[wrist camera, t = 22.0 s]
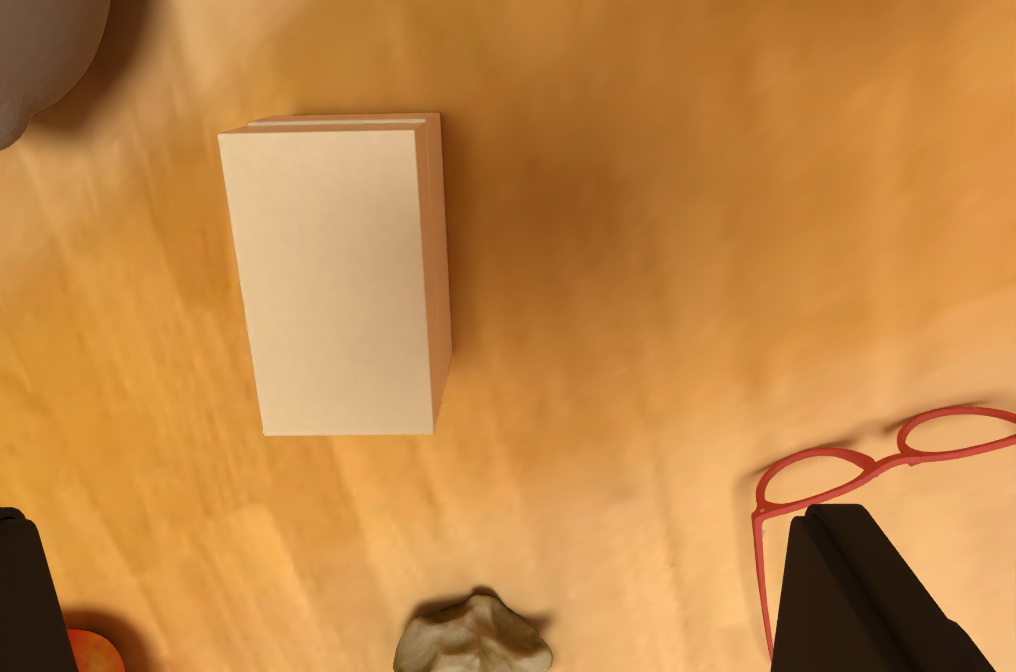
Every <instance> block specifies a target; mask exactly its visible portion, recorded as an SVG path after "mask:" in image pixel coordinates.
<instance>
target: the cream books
mask: <svg viewBox="0 0 1016 672" xmlns="http://www.w3.org/2000/svg"><path fill="white" fill-rule="evenodd" d="M415 122H424V123H425V124H426V141H427V158H428V175H429V192H430V209H431V226H432V243H433V260H434V278H435V295H436V312H437V329H438V346H439V363H440V380H441V397H442V395H443V391H444V387H445V383H446V379H447V375H448V368H449V363H450V359H451V355H452V336H451V316H450V297H449V277H448V258H447V238H446V219H445V199H444V180H443V160H442V141H441V121H440V113H391V114H342V115H293V116H271V117H267V118H262V119H258V120H254V121H250V122H248V126H268V125H317V124H366V123H415Z"/></svg>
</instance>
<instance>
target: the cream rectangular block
mask: <svg viewBox="0 0 1016 672" xmlns="http://www.w3.org/2000/svg"><path fill="white" fill-rule="evenodd" d="M217 136H218V142H219V149H220V155H221V162H222V168H223V175H224V181H225V188H226V194H227V201H228V207H229V213H230V220H231V226H232V233H233V239H234V246H235V252H236V259H237V265H238V272H239V278H240V285H241V291H242V297H243V304H244V310H245V317H246V323H247V330H248V336H249V343H250V349H251V356H252V362H253V369H254V375H255V382H256V388H257V394H258V401H259V407H260V414H261V420H262V427H263V433H264V436H301V435H423V434H434V432H435V428H436V424H437V420H438V416H439V411H440V407H441V403H442V397H441V380H440V363H439V346H438V329H437V312H436V295H435V278H434V260H433V243H432V226H431V209H430V192H429V175H428V158H427V141H426V124H425V123H424V122H415V123H366V124H317V125H268V126H245V127H241V128H237V129H233V130H230V131H226V132H222V133H218V134H217Z"/></svg>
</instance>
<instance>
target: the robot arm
mask: <svg viewBox="0 0 1016 672" xmlns="http://www.w3.org/2000/svg"><path fill="white" fill-rule="evenodd" d="M0 672H79V671H78V667H77V664H76V660H75V657H74V653H73V650H72V647H71V643H70V640H69V636H68V633H67V629H66V626H65V622H64V619H63V615H62V612H61V609H60V605H59V602H58V598H57V595H56V591H55V588H54V584H53V581H52V577H51V574H50V571H49V567H48V564H47V560H46V557H45V553H44V550H43V546H42V543H41V539H40V536H39V533H38V529H37V527H36V525H35V524H34V523H33V522H32V521H31V520H28V519H26V518H25V516H24V514H23V513H22V512H21V511H20V510H19V509H16V508H12V507H0ZM771 672H996V671H995V670H994V668H993V667H992V666H991V664H990V663H989V662H988V660H987V659H986V658H985V657H984V655H983V654H982V653H981V651H980V650H979V649H978V647H977V646H976V645H975V643H974V642H973V641H972V639H971V638H970V637H969V635H968V634H967V633H966V632H965V631H964V630H963V629H962V628H961V627H960V626H959V625H958V624H957V623H956V622H954V621H952V620H950V619H948V618H947V617H946V616H945V614H944V613H943V612H942V610H941V609H940V608H939V606H938V605H937V604H936V602H935V601H934V600H933V598H932V597H931V596H930V594H929V593H928V591H927V590H926V589H925V587H924V586H923V585H922V583H921V582H920V581H919V579H918V578H917V577H916V575H915V574H914V573H913V571H912V570H911V569H910V567H909V566H908V565H907V563H906V562H905V561H904V559H903V558H902V557H901V555H900V554H899V553H898V551H897V550H896V549H895V547H894V546H893V545H892V543H891V542H890V541H889V539H888V538H887V536H886V535H885V534H884V532H883V531H882V530H881V528H880V527H879V526H878V524H877V523H876V522H875V520H874V519H873V518H872V516H871V515H870V514H869V512H868V511H867V510H866V509H865V508H864V507H863V506H862V505H860V504H811V505H810V506H808V508H807V510H806V512H805V516H795V517H794V518H793V519H792V521H791V525H790V531H789V538H788V546H787V553H786V560H785V568H784V575H783V583H782V590H781V597H780V605H779V612H778V620H777V627H776V634H775V642H774V649H773V657H772V664H771Z"/></svg>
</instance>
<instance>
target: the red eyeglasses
mask: <svg viewBox="0 0 1016 672" xmlns="http://www.w3.org/2000/svg"><path fill="white" fill-rule="evenodd" d="M958 414H974V415H985V416H991V417H996V418H1000V419H1004V420H1007V421H1010V422H1013V423H1015V424H1016V414H1014V413H1010V412H1007V411H1003V410H998V409H992V408H983V407H952V408H944V409H938V410H934V411H930V412H927V413H924V414H921V415H919V416H917V417H914V418H913V419H911V420H910V421H908V422H907V423H906V424H904V425H903V426H902V428H901V429H900V430H899V433H898V435H897V446H898V449H899V451H900V452H901V453H900V454H895V455H891V456H888V457H886V458H883V459H881V460H879V461H877V462H875V461H874V459H873V458H871V457H869V456H867V455H865V454H862V453H860V452H856V451H853V450H848V449H842V448H817V449H811V450H806V451H803V452H799V453H797V454H794V455H791V456H789V457H787V458H785V459H783V460H781V461H780V462H778V463H776V464H775V465H774V466H772V467H771V468H770V469H769V470H768V471H767V472H766V473H765V474H764V475H763V476H762V478H761V479H760V481H759V483H758V485H757V489H756V502H757V508H756V510H755V511H754V512H753V513H752V515H751V518H752V527H753V537H754V548H755V560H756V570H757V578H758V585H759V592H760V599H761V606H762V613H763V620H764V627H765V633H766V639H767V645H768V650H769V654H770V659H771V663H772V657H773V643H772V636H771V629H770V621H769V614H768V607H767V599H766V588H765V575H764V560H763V542H762V537H763V535H764V532H765V531H764V528H763V525H762V523H763V521H764V520H766V519H768V518H771V517H775V516H779V515H783V514H786V513H790V512H793V511H797V510H800V509H803V508H806V507H808V506H810V505H811V504H818V503H821V502H824V501H827V500H830V499H832V498H835V497H838V496H840V495H843V494H845V493H848V492H850V491H852V490H854V489H857V488H858V487H860V486H862V485H864V484H865V483H867V482H869V481H870V480H872V479H873V478H875V477H878V475H880V474H881V473H883V472H885V471H886V470H888V469H890V468H892V467H895V466H898V465H901V464H906V463H908V464H909V466H914V465H917V464H919V463H923V462H935V461H944V460H952V459H958V458H963V457H968V456H972V455H976V454H981V453H985V452H989V451H993V450H997V449H1000V448H1004V447H1007V446H1011V445H1015V444H1016V434H1014V435H1012V436H1009V437H1006V438H1003V439H1000V440H997V441H993V442H989V443H986V444H982V445H977V446H973V447H968V448H964V449H958V450H952V451H944V452H923V451H918V450H915V449H912V448H910V447H909V446H907V445H906V444H905V441H906V437H907V435H908V434H909V432H910V431H911V430H912V429H913V428H914V427H915V426H917V425H918V424H920V423H922V422H924V421H927V420H930V419H933V418H937V417H942V416H948V415H958ZM814 456H834V457H838V458H842V459H845V460H847V461H849V462H852V463H854V464H855V465H857V466H859V467H860V468H862V469H863V470H864V471H863V472H862V473H861V474H860V475H859V476H858V477H857V478H855V479H854V480H852V481H850V482H848V483H846V484H844V485H842V486H839V487H837V488H834V489H832V490H829V491H827V492H824V493H821V494H818V495H815V496H812V497H809V498H806V499H803V500H799V501H795V502H791V503H785V504H775V503H771V502H768V501H766V500H765V496H764V495H765V489H766V486H767V484H768V482H769V481H770V480H771V478H772V477H773V476H774V475H775V474H776V473H777V472H779V471H780V470H781V469H783V468H784V467H786V466H788V465H790V464H792V463H794V462H796V461H799V460H802V459H805V458H809V457H814Z"/></svg>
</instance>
